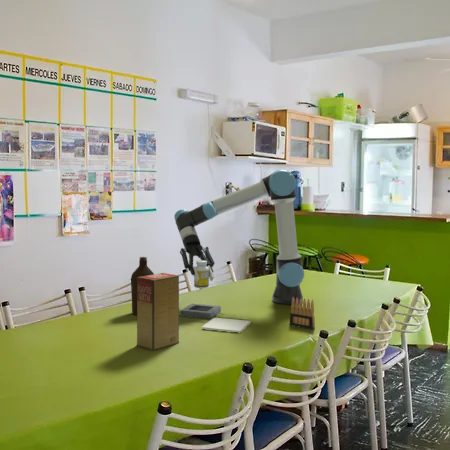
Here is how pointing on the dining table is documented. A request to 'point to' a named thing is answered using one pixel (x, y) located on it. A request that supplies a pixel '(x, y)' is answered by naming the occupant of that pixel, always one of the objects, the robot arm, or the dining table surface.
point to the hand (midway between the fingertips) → (205, 279)
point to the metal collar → (200, 311)
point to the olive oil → (139, 272)
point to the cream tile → (226, 325)
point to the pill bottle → (202, 275)
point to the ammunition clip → (302, 314)
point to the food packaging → (157, 310)
